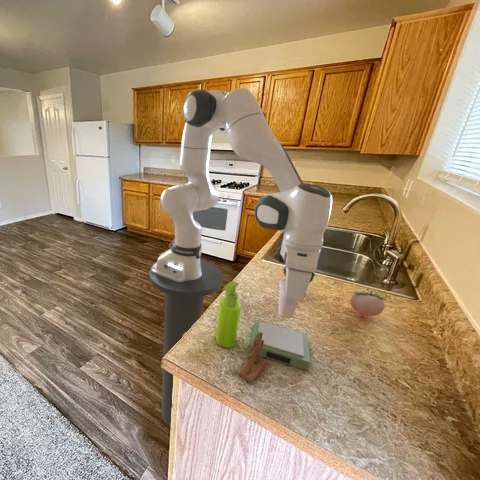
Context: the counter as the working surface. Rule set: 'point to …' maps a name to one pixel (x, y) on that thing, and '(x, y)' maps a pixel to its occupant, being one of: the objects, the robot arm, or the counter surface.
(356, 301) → the decorative fruit
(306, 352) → the scale
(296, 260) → the robot arm
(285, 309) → the smoothie
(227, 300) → the soap dispenser
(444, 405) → the counter surface
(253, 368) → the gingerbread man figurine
